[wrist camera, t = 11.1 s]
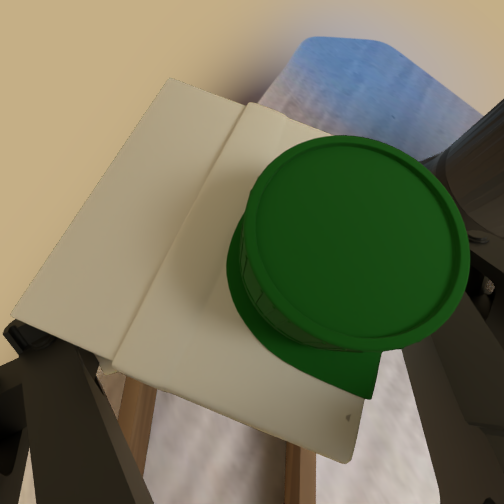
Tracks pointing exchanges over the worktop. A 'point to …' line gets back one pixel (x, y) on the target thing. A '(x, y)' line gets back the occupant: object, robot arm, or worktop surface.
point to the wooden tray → (138, 431)
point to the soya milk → (255, 265)
